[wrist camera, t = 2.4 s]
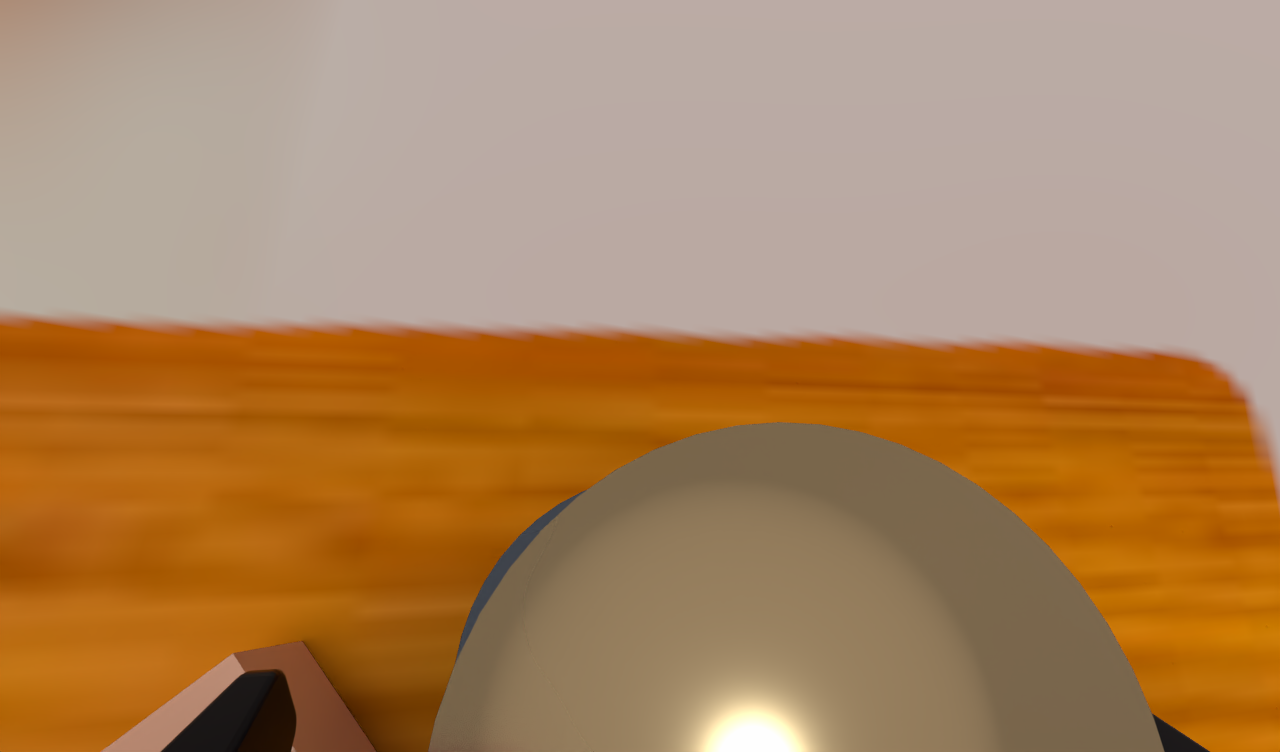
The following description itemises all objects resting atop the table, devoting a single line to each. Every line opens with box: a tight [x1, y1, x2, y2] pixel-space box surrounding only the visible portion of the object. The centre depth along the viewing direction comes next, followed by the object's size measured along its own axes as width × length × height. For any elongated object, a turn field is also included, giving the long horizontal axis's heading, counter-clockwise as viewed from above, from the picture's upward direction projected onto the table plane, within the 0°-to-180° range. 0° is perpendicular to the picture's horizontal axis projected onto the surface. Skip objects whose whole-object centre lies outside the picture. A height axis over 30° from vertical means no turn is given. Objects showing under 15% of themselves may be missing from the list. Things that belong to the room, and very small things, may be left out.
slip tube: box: [428, 422, 1164, 752], centre depth 10 cm, size 5×5×14 cm
